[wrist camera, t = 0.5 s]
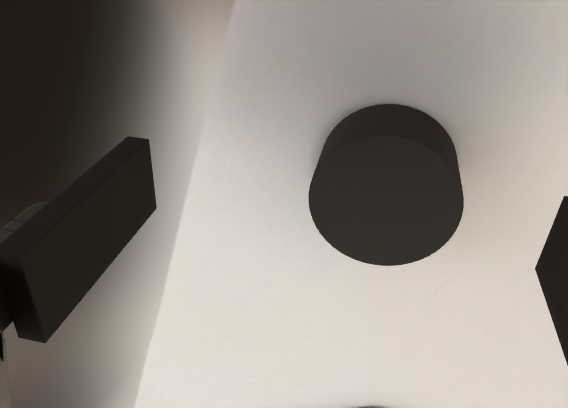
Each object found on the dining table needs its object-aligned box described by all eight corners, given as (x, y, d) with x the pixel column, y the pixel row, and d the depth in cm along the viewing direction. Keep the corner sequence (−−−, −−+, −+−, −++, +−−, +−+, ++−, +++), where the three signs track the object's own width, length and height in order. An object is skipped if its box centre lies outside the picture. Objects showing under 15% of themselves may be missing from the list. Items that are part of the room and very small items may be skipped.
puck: (295, 144, 34) (279, 179, 30) (415, 77, 30) (416, 106, 26) (363, 240, 37) (357, 284, 33) (481, 190, 33) (491, 233, 29)
